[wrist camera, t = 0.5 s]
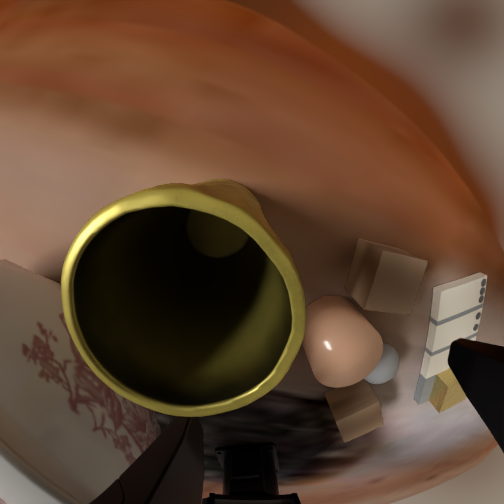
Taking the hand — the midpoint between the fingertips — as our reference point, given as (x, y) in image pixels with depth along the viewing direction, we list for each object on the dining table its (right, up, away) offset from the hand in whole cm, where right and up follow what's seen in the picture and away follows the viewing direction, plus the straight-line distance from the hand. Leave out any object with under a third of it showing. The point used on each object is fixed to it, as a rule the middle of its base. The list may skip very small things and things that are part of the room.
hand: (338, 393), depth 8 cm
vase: (-5, +6, +12) cm, 14 cm away
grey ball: (+8, -5, +15) cm, 17 cm away
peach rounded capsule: (+3, -1, +14) cm, 14 cm away
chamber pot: (-21, -6, +14) cm, 26 cm away
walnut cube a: (+7, -10, +16) cm, 20 cm away
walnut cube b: (+7, +3, +13) cm, 15 cm away
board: (+18, -5, +15) cm, 24 cm away
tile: (+19, -10, +15) cm, 26 cm away
